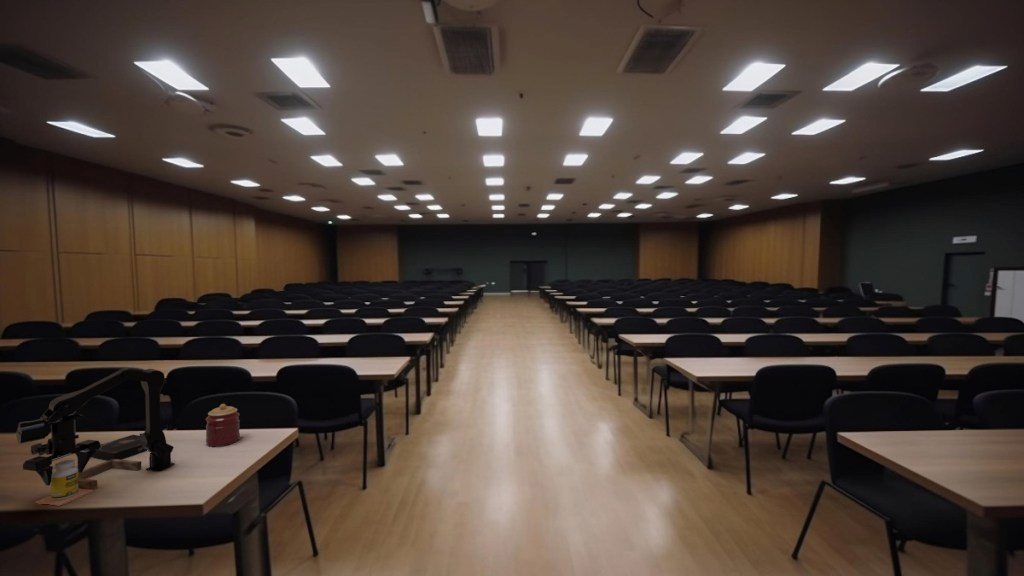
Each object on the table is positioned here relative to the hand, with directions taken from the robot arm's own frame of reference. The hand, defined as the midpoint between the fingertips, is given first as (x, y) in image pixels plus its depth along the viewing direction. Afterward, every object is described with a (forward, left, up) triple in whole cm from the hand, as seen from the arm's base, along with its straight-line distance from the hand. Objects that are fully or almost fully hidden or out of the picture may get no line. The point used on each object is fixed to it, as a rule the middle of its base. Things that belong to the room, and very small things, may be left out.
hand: (64, 478), depth 145 cm
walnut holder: (+2, -14, -6) cm, 16 cm away
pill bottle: (0, 0, -6) cm, 6 cm away
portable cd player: (+20, -35, -7) cm, 41 cm away
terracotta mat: (0, 0, -6) cm, 6 cm away
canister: (-13, -52, -7) cm, 54 cm away
